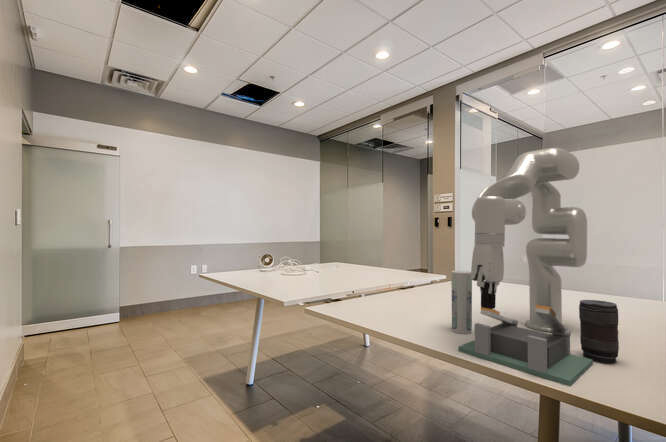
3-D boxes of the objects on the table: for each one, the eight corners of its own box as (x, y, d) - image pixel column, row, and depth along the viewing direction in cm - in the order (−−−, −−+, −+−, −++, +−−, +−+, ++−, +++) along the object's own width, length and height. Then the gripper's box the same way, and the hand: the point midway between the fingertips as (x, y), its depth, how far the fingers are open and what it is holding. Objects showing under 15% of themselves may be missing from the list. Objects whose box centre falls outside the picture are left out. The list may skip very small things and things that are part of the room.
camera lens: (580, 350, 91) (579, 297, 92) (618, 358, 86) (617, 302, 86) (579, 359, 85) (578, 302, 85) (620, 367, 80) (619, 307, 80)
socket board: (489, 337, 102) (489, 310, 102) (592, 364, 82) (592, 330, 82) (458, 350, 90) (458, 320, 90) (569, 386, 70) (569, 346, 70)
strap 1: (501, 321, 96) (502, 315, 97) (513, 323, 94) (514, 317, 94) (480, 313, 88) (481, 306, 88) (491, 315, 86) (492, 308, 86)
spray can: (451, 327, 112) (451, 270, 113) (471, 329, 110) (471, 271, 111) (451, 332, 106) (451, 272, 107) (472, 335, 104) (472, 273, 105)
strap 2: (552, 331, 86) (553, 324, 87) (566, 334, 84) (567, 327, 85) (534, 311, 79) (535, 304, 79) (549, 314, 76) (550, 307, 77)
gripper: (488, 241, 97) (487, 303, 95) (462, 239, 87) (460, 307, 86) (515, 242, 91) (514, 308, 89) (490, 240, 81) (488, 313, 80)
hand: (487, 307), depth 88 cm, fingers closed
